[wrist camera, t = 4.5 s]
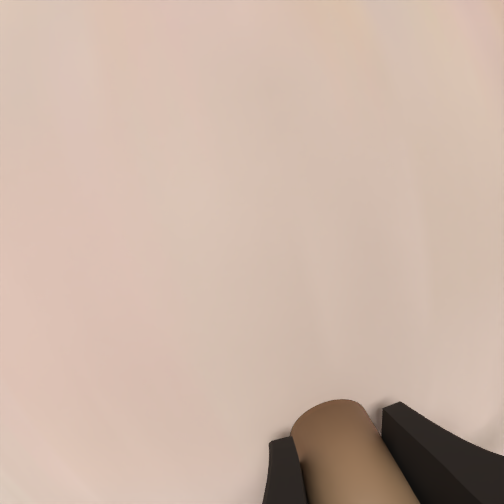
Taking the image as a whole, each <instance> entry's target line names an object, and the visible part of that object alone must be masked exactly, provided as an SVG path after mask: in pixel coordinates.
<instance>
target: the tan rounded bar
mask: <svg viewBox="0 0 504 504" xmlns="http://www.w3.org/2000/svg"><path fill="white" fill-rule="evenodd" d="M291 436H292V437H293V440H294V443H295V446H296V450H297V453H298V457H299V462H300V467H301V471H302V476H303V481H304V486H305V492H306V497H307V501H308V504H420V502H419V501H418V499H417V497H416V496H415V494H414V492H413V490H412V489H411V487H410V485H409V484H408V482H407V480H406V478H405V477H404V475H403V473H402V472H401V470H400V468H399V467H398V465H397V463H396V461H395V460H394V458H393V456H392V455H391V453H390V451H389V450H388V448H387V446H386V444H385V443H384V441H383V439H382V438H381V436H380V434H379V433H378V431H377V429H376V428H375V426H374V424H373V423H372V421H371V419H370V418H369V416H368V414H367V413H366V411H365V409H364V408H363V407H362V406H361V405H360V404H359V403H357V402H355V401H351V400H343V399H341V400H332V401H328V402H325V403H322V404H319V405H317V406H315V407H313V408H311V409H310V410H308V411H307V412H305V413H304V414H303V415H302V416H301V417H300V418H299V419H298V420H297V421H296V422H295V424H294V426H293V428H292V430H291V435H290V437H291Z"/></svg>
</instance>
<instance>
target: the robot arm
mask: <svg viewBox="0 0 504 504" xmlns="http://www.w3.org/2000/svg"><path fill="white" fill-rule="evenodd" d="M381 438H382V439H383V441H384V443H385V444H386V446H387V448H388V450H389V451H390V453H391V455H392V456H393V458H394V460H395V461H396V463H397V465H398V467H399V468H400V470H401V472H402V473H403V475H404V477H405V478H406V480H407V482H408V484H409V485H410V487H411V489H412V490H413V492H414V494H415V496H416V497H417V499H418V501H419V502H420V504H504V456H502V455H499V454H496V453H493V452H490V451H488V450H485V449H483V448H480V447H478V446H476V445H474V444H472V443H470V442H467V441H465V440H463V439H461V438H460V437H458V436H456V435H454V434H452V433H450V432H449V431H447V430H445V429H443V428H441V427H440V426H438V425H436V424H435V423H433V422H432V421H430V420H428V419H427V418H425V417H424V416H422V415H421V414H419V413H417V412H416V411H414V410H413V409H411V408H410V407H408V406H407V405H405V404H404V403H402V402H398V403H395V404H393V405H390V406H387V407H385V408H383V414H382V434H381ZM262 504H308V501H307V497H306V492H305V486H304V481H303V476H302V471H301V467H300V462H299V457H298V453H297V450H296V446H295V443H294V440H293V437H292V436H291V437H286V438H282V439H278V440H273V441H271V442H270V443H269V468H268V476H267V483H266V488H265V493H264V498H263V503H262Z"/></svg>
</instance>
